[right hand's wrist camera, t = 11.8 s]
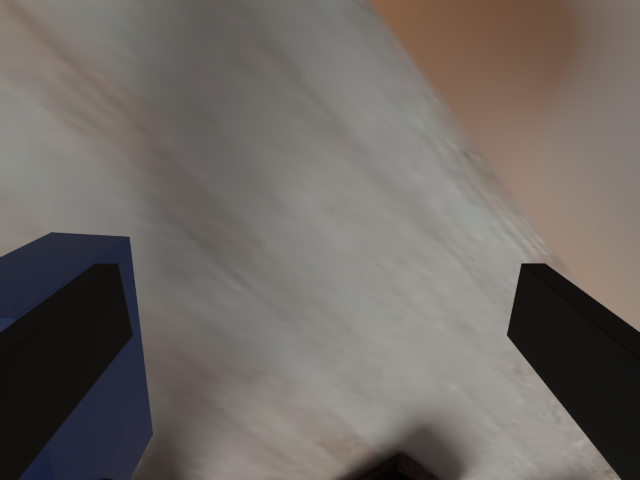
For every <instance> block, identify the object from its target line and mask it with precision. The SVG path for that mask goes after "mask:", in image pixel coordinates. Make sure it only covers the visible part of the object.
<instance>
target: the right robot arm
mask: <svg viewBox="0 0 640 480" xmlns="http://www.w3.org/2000/svg"><path fill="white" fill-rule="evenodd" d="M132 336H133V333H132V328H131V323H130V318H129V313H128V308H127V303H126V298H125V293H124V289H123V284H122V279H121V274H120V269H119V264H118V263H95V264H93V265H92V266H91V267H89V268H88V269H87V270H85V271H84V272H82V273H81V274H80V275H78V276H77V277H76V278H74V279H73V280H71V281H70V282H69V283H67V284H66V285H65V286H63V287H62V288H60V289H59V290H58V291H56V292H55V293H54V294H52V295H51V296H49V297H48V298H47V299H45V300H44V301H43V302H41V303H40V304H38V305H37V306H36V307H34V308H33V309H32V310H30V311H29V312H27V313H26V314H25V315H23V316H22V317H21V318H19V319H18V320H16V321H15V322H14V323H12V324H11V325H10V326H8V327H7V328H5V329H4V330H3V331H1V332H0V480H19V478H20V477H21V476H22V475H23V473H24V472H25V471H26V470H27V468H28V467H29V466H30V465H31V463H32V462H33V461H34V460H35V458H36V457H37V456H38V455H39V453H40V452H41V451H42V450H43V448H44V447H45V446H46V444H47V443H48V442H49V441H50V439H51V438H52V437H53V436H54V434H55V433H56V432H57V431H58V429H59V428H60V427H61V426H62V424H63V423H64V422H65V421H66V419H67V418H68V417H69V415H70V414H71V413H72V412H73V410H74V409H75V408H76V407H77V405H78V404H79V403H80V402H81V400H82V399H83V398H84V397H85V395H86V394H87V393H88V392H89V390H90V389H91V388H92V386H93V385H94V384H95V383H96V381H97V380H98V379H99V378H100V376H101V375H102V374H103V373H104V371H105V370H106V369H107V368H108V366H109V365H110V364H111V363H112V361H113V360H114V359H115V357H116V356H117V355H118V354H119V352H120V351H121V350H122V349H123V347H124V346H125V345H126V344H127V342H128V341H129V340H130V339H131V337H132ZM507 336H508V337H509V339H510V340H511V341H512V342H513V344H514V345H515V346H516V347H517V349H518V350H519V351H520V352H521V354H522V355H523V356H524V357H525V359H526V360H527V361H528V363H529V364H530V365H531V366H532V368H533V369H534V370H535V371H536V373H537V374H538V375H539V376H540V378H541V379H542V380H543V381H544V383H545V384H546V385H547V386H548V388H549V389H550V390H551V392H552V393H553V394H554V395H555V397H556V398H557V399H558V400H559V402H560V403H561V404H562V405H563V407H564V408H565V409H566V410H567V412H568V413H569V414H570V415H571V417H572V418H573V419H574V421H575V422H576V423H577V424H578V426H579V427H580V428H581V429H582V431H583V432H584V433H585V434H586V436H587V437H588V438H589V439H590V441H591V442H592V443H593V444H594V446H595V447H596V448H597V450H598V451H599V452H600V453H601V455H602V456H603V457H604V458H605V460H606V461H607V462H608V463H609V465H610V466H611V467H612V468H613V470H614V471H615V472H616V473H617V475H618V476H619V477H620V478H621V480H640V332H639V331H637V330H636V329H634V328H633V327H632V326H630V325H629V324H628V323H626V322H625V321H623V320H622V319H621V318H619V317H618V316H617V315H615V314H614V313H613V312H611V311H610V310H608V309H607V308H606V307H604V306H603V305H602V304H600V303H599V302H597V301H596V300H595V299H593V298H592V297H591V296H589V295H588V294H586V293H585V292H584V291H582V290H581V289H580V288H578V287H577V286H575V285H574V284H573V283H571V282H570V281H569V280H567V279H566V278H564V277H563V276H562V275H560V274H559V273H558V272H556V271H555V270H553V269H552V268H551V267H549V266H548V265H547V264H545V263H522V264H521V269H520V274H519V279H518V284H517V289H516V293H515V298H514V303H513V308H512V313H511V318H510V323H509V328H508V333H507Z"/></svg>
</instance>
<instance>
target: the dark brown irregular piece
mask: <svg viewBox="0 0 640 480" xmlns="http://www.w3.org/2000/svg"><path fill="white" fill-rule="evenodd" d="M361 480H438V479H437V478H436V477H435V476H434V475H433V474H429V473H428V472H427V471H425V470H424V468H423V467H422V466H421V464H419V463H417V462H415V461H413V460H411V459H410V458H408V457H407V456H406V455H404V454H399V455H398V456H397V457H395V458H393V459H392V460H389V461H388V462H385V463H384V464H383V465H382V466H380V467H379V468H377V469H376V470H375V471H374V472H372V473H371V474H369V475H368V476H366V477H365V478H363V479H361Z"/></svg>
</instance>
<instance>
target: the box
mask: <svg viewBox="0 0 640 480" xmlns="http://www.w3.org/2000/svg"><path fill="white" fill-rule="evenodd" d="M95 263H118V264H119V269H120V274H121V279H122V284H123V289H124V293H125V298H126V303H127V308H128V313H129V318H130V323H131V328H132V333H133V336H132V337H131V339H130V340H129V341H128V342H127V344H126V345H125V346H124V347H123V349H122V350H121V351H120V352H119V354H118V355H117V356H116V357H115V359H114V360H113V361H112V363H111V364H110V365H109V366H108V368H107V369H106V370H105V371H104V373H103V374H102V375H101V376H100V378H99V379H98V380H97V381H96V383H95V384H94V385H93V386H92V388H91V389H90V390H89V392H88V393H87V394H86V395H85V397H84V398H83V399H82V400H81V402H80V403H79V404H78V405H77V407H76V408H75V409H74V410H73V412H72V413H71V414H70V415H69V417H68V418H67V419H66V421H65V422H64V423H63V424H62V426H61V427H60V428H59V429H58V431H57V432H56V433H55V434H54V436H53V437H52V438H51V439H50V441H49V442H48V443H47V444H46V446H45V447H44V448H43V450H42V451H41V452H40V453H39V455H38V456H37V457H36V458H35V460H34V461H33V462H32V463H31V465H30V466H29V467H28V468H27V470H26V471H25V472H24V473H23V475H22V476H21V477H20V478H19V480H103V479H104V478H106V479H114V480H130V478H131V476H132V474H133V472H134V470H135V468H136V466H137V464H138V462H139V460H140V458H141V456H142V454H143V452H144V450H145V448H146V446H147V444H148V442H149V440H150V438H151V436H152V434H153V431H152V423H151V415H150V406H149V398H148V389H147V381H146V372H145V364H144V355H143V347H142V339H141V330H140V322H139V313H138V305H137V296H136V288H135V280H134V271H133V263H132V254H131V246H130V237H123V236H106V235H88V234H71V233H53V232H51V233H49V234H47V235H45V236H43V237H41V238H39V239H37V240H35V241H33V242H31V243H29V244H27V245H24V246H22V247H20V248H18V249H16V250H14V251H12V252H10V253H8V254H6V255H4V256H2V257H0V332H1V331H3V330H4V329H5V328H7V327H8V326H10V325H11V324H12V323H14V322H15V321H16V320H18V319H19V318H21V317H22V316H23V315H25V314H26V313H27V312H29V311H30V310H32V309H33V308H34V307H36V306H37V305H38V304H40V303H41V302H43V301H44V300H45V299H47V298H48V297H49V296H51V295H52V294H54V293H55V292H56V291H58V290H59V289H60V288H62V287H63V286H65V285H66V284H67V283H69V282H70V281H71V280H73V279H74V278H76V277H77V276H78V275H80V274H81V273H82V272H84V271H85V270H87V269H88V268H89V267H91V266H92V265H93V264H95Z"/></svg>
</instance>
